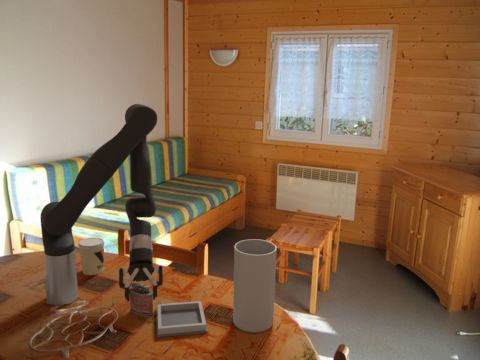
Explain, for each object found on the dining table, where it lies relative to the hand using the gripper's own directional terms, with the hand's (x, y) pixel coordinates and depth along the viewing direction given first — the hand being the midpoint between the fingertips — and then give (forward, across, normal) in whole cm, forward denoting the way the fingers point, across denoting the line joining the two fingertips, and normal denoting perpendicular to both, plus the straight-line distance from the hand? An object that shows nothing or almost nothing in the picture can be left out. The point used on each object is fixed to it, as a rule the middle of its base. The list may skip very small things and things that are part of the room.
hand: (141, 299), depth 138 cm
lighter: (+3, 0, +4) cm, 5 cm away
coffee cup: (-21, -19, +28) cm, 40 cm away
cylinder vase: (+11, +34, -3) cm, 36 cm away
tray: (+8, +12, -1) cm, 14 cm away
